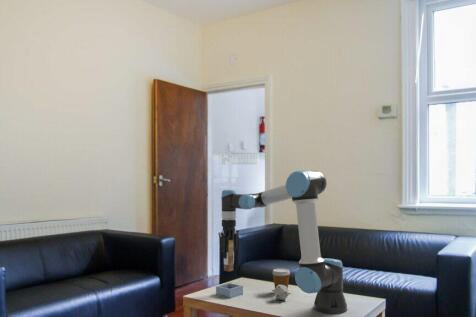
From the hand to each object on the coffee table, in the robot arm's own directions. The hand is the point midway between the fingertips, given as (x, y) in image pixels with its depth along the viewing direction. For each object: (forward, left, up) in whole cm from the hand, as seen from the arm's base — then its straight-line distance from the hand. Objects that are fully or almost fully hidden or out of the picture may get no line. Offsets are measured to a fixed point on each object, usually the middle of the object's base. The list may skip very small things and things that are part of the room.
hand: (228, 263), depth 236 cm
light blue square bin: (0, 0, -16) cm, 16 cm away
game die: (-27, -9, -16) cm, 33 cm away
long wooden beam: (0, 0, -4) cm, 4 cm away
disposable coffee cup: (-19, -20, -16) cm, 32 cm away
